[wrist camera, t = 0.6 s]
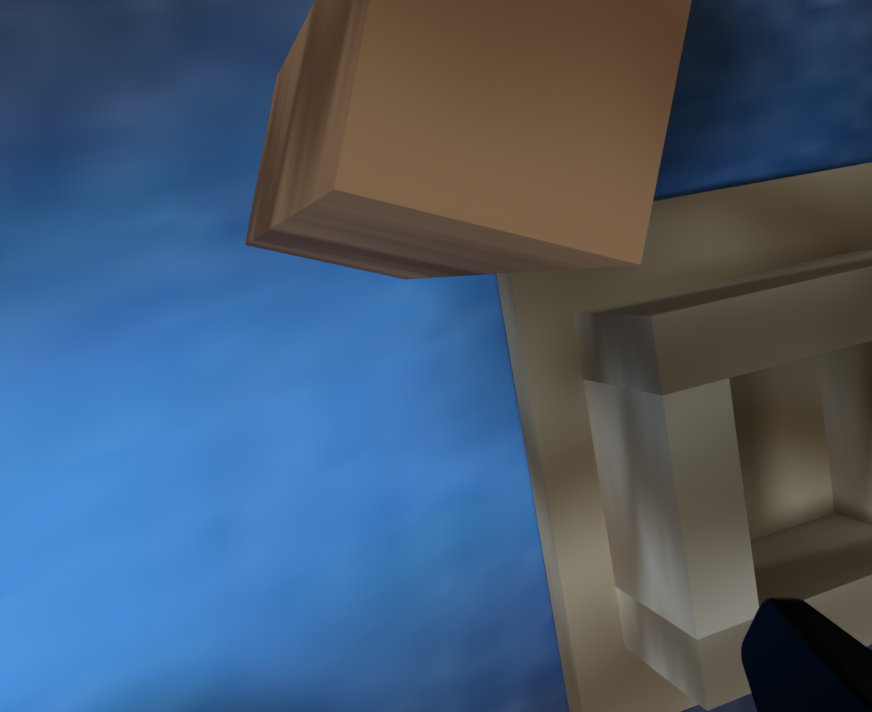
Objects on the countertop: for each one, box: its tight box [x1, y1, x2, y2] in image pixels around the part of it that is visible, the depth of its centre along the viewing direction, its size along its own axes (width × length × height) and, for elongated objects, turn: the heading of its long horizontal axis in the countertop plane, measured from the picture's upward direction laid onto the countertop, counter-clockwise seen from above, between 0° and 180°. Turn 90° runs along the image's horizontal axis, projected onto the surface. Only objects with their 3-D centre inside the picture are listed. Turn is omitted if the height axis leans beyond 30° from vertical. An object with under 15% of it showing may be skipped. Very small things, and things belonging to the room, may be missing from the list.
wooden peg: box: [245, 0, 692, 279], centre depth 16 cm, size 4×4×12 cm
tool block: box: [496, 162, 872, 712], centre depth 24 cm, size 16×14×5 cm
